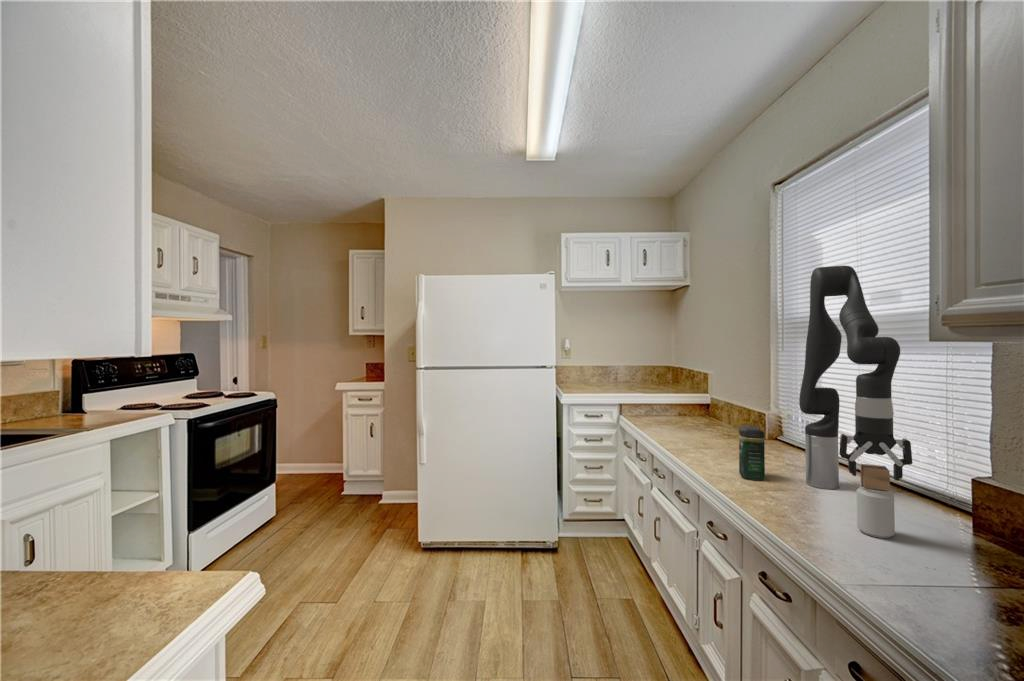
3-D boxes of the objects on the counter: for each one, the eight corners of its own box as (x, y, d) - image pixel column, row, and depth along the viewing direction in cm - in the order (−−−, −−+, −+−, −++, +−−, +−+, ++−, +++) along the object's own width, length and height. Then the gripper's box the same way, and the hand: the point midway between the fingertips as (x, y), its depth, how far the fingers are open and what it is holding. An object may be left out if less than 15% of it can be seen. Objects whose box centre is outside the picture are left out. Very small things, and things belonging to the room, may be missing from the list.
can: (902, 540, 108) (901, 492, 108) (867, 538, 109) (866, 490, 109) (883, 528, 115) (882, 482, 115) (850, 526, 116) (850, 481, 116)
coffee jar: (767, 481, 153) (766, 429, 153) (742, 480, 155) (741, 428, 155) (760, 473, 162) (760, 423, 162) (737, 472, 164) (736, 423, 164)
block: (860, 482, 115) (860, 463, 115) (885, 485, 113) (884, 466, 113) (864, 487, 111) (864, 468, 111) (889, 491, 109) (889, 471, 109)
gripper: (906, 414, 112) (907, 477, 112) (837, 410, 119) (838, 469, 119) (914, 419, 105) (915, 486, 105) (841, 414, 112) (842, 477, 112)
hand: (874, 477), depth 112 cm, fingers open, 8 cm apart
